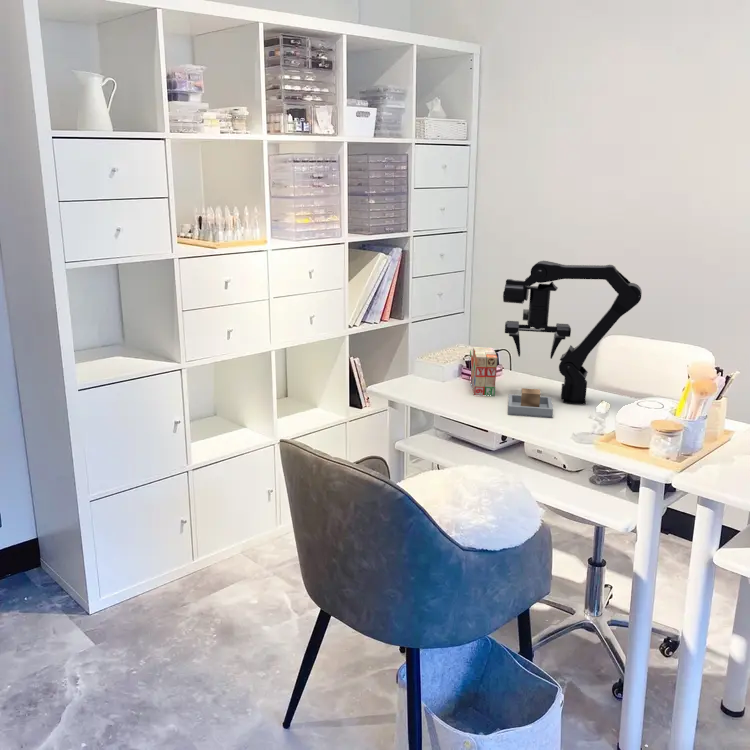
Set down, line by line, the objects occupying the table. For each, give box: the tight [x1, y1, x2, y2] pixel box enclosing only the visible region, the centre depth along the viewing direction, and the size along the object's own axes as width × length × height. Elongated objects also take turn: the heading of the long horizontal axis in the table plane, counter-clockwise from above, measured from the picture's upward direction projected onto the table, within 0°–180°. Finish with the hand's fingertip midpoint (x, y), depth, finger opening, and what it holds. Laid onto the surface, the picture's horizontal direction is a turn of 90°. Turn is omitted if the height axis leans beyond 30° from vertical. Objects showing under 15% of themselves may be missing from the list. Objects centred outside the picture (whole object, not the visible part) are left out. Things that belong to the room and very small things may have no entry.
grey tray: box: [507, 393, 554, 419], centre depth 217 cm, size 12×12×2 cm
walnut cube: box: [520, 387, 541, 407], centre depth 217 cm, size 5×5×5 cm
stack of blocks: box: [469, 346, 498, 397], centre depth 239 cm, size 21×6×12 cm, turn 178°
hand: (535, 357), depth 228 cm, fingers open, 9 cm apart
